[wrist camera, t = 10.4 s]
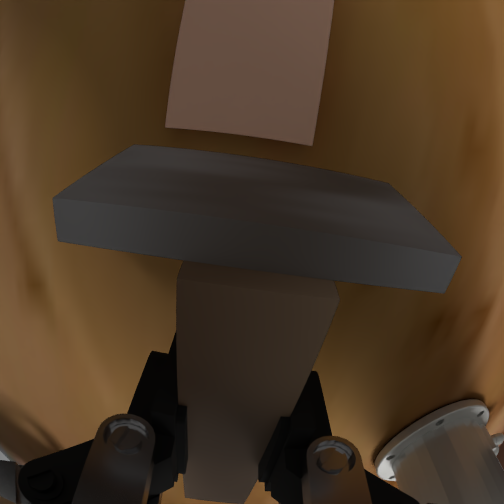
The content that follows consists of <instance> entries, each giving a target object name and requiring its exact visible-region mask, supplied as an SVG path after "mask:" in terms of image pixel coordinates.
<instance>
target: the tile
mask: <svg viewBox="0 0 504 504" xmlns="http://www.w3.org/2000/svg"><path fill="white" fill-rule="evenodd" d="M333 6H334V0H185V5H184V10H183V15H182V20H181V25H180V30H179V35H178V41H177V46H176V52H175V58H174V64H173V71H172V77H171V84H170V91H169V99H168V106H167V114H166V123H165V128H179V129H191V130H202V131H212V132H221V133H230V134H238V135H245V136H253V137H260V138H267V139H273V140H280V141H286V142H292V143H298V144H303V145H309V146H312V145H313V139H314V134H315V128H316V122H317V116H318V110H319V103H320V97H321V91H322V84H323V78H324V71H325V65H326V58H327V51H328V44H329V36H330V29H331V22H332V14H333Z"/></svg>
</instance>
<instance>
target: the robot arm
mask: <svg viewBox="0 0 504 504" xmlns="http://www.w3.org/2000/svg"><path fill="white" fill-rule="evenodd" d="M488 419H489V411H488V409H487V407H486V405H485V404H484V403H483V402H482V401H480V400H477V399H469V400H463V401H459V402H456V403H453V404H450V405H447V406H445V407H443V408H440V409H438V410H436V411H434V412H432V413H430V414H428V415H426V416H425V417H423V418H421V419H420V420H418V421H416V422H415V423H413V424H412V425H410V426H409V427H407V428H406V429H404V430H403V431H402V432H400V433H399V434H398V435H397V436H395V437H394V438H393V439H392V440H391V441H390V442H389V443H387V444H386V445H385V447H384V448H383V449H382V450H381V451H380V453H379V454H378V456H377V458H376V460H375V469H376V473H377V475H378V476H379V477H380V478H382V479H384V480H388V481H396V482H397V485H398V488H399V489H397V488H395V487H393V486H392V485H390V484H388V483H387V482H385V481H383V480H381V479H380V478H378V477H376V476H375V475H373V474H372V473H370V472H368V471H367V470H365V469H364V467H363V463H362V459H361V455H360V453H359V451H358V449H357V448H356V447H355V446H354V444H353V443H351V442H350V441H348V440H347V439H344V438H341V437H338V436H332V433H331V428H330V424H329V419H328V415H327V410H326V406H325V401H324V397H323V393H322V388H321V384H320V380H319V376H318V373H317V372H316V371H311V372H310V374H309V377H308V379H307V381H306V383H305V386H304V388H303V390H302V392H301V394H300V397H299V399H298V401H297V403H296V405H295V407H294V409H293V412H292V414H291V415H290V417H282V416H281V417H280V419H279V421H278V424H277V426H276V428H275V430H274V432H273V435H272V437H271V439H270V441H269V443H268V445H267V447H266V450H265V452H264V454H263V456H262V458H261V460H260V462H259V464H258V480H259V482H265V491H271V497H273V498H274V499H275V500H277V501H278V502H279V504H504V470H503V468H502V467H501V464H500V463H499V461H498V459H497V457H496V455H497V454H498V451H499V447H498V445H499V444H501V443H502V442H503V440H504V436H503V434H502V433H497V434H494V435H492V436H490V434H489V432H488V431H487V429H486V427H485V426H486V424H487V421H488ZM187 461H188V428H187V406H183V405H178V387H177V344H176V333H175V336H174V339H173V342H172V345H171V348H170V351H169V354H167V353H161V352H156V351H152V352H151V353H150V355H149V357H148V360H147V362H146V365H145V368H144V370H143V373H142V375H141V378H140V381H139V383H138V386H137V389H136V391H135V394H134V397H133V399H132V402H131V405H130V407H129V410H128V413H127V414H116V415H113V416H111V417H108V418H107V419H106V420H104V421H103V422H102V423H101V425H100V426H99V428H98V430H97V433H96V435H95V438H94V439H92V440H89V441H87V442H84V443H81V444H79V445H76V446H73V447H70V448H67V449H65V450H62V451H59V452H56V453H53V454H50V455H47V456H44V457H41V458H37V459H34V460H32V461H30V462H28V463H26V464H25V465H18V464H17V463H16V462H14V461H4V460H0V504H161V500H162V494H163V493H162V492H164V491H166V490H168V489H170V488H172V487H173V486H174V481H175V482H177V480H178V474H179V473H181V474H185V473H186V468H187Z"/></svg>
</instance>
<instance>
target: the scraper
mask: <svg viewBox="0 0 504 504" xmlns="http://www.w3.org/2000/svg"><path fill="white" fill-rule="evenodd" d="M53 207H54V216H55V224H56V231H57V238H58V241H60V242H66V243H73V244H79V245H85V246H92V247H98V248H104V249H111V250H117V251H124V252H131V253H137V254H144V255H151V256H157V257H164V258H171V259H178V260H184V261H183V263H182V266H181V269H180V271H179V274H178V277H177V302H176V344H177V387H178V405H183V406H187V428H188V461H187V468H186V473H185V474H183V481H184V491H185V498H192V499H199V500H207V501H215V502H225V503H238V504H244V502H245V501H246V499H247V497H248V496H249V494H250V492H251V490H252V489H253V487H254V485H255V483H256V481H257V480H258V464H259V462H260V460H261V458H262V456H263V454H264V452H265V450H266V447H267V445H268V443H269V441H270V439H271V437H272V435H273V432H274V430H275V428H276V426H277V424H278V421H279V419H280V417H281V416H282V417H290V415H291V414H292V412H293V409H294V407H295V405H296V403H297V401H298V399H299V397H300V394H301V392H302V390H303V388H304V386H305V383H306V381H307V379H308V377H309V374H310V372H311V370H312V368H313V365H314V363H315V361H316V358H317V356H318V354H319V351H320V349H321V346H322V344H323V342H324V339H325V337H326V334H327V332H328V329H329V327H330V324H331V322H332V319H333V317H334V314H335V311H336V309H337V306H338V304H339V301H340V298H339V295H338V292H337V289H336V285H335V282H334V281H342V282H350V283H359V284H367V285H375V286H384V287H392V288H401V289H409V290H418V291H427V292H436V293H445V291H446V289H447V287H448V285H449V283H450V281H451V279H452V277H453V275H454V273H455V271H456V269H457V266H458V264H459V262H460V260H461V258H462V257H461V255H460V254H459V253H458V252H457V251H456V250H455V249H454V248H453V247H452V246H451V244H450V243H449V242H448V241H447V240H446V239H445V238H444V237H443V236H442V235H441V234H440V233H439V232H438V231H437V230H436V229H435V228H434V227H433V226H432V225H431V224H430V223H429V222H428V221H427V220H426V219H425V218H424V217H423V216H422V215H421V214H420V213H419V212H418V211H417V210H416V209H415V208H414V207H413V206H412V205H411V204H410V203H409V202H408V201H407V200H406V199H405V198H404V197H403V196H402V195H401V194H400V193H399V192H397V191H396V190H395V189H394V188H393V187H392V186H391V185H390V184H389V183H385V182H381V181H377V180H372V179H368V178H363V177H359V176H354V175H350V174H345V173H340V172H335V171H330V170H325V169H320V168H315V167H309V166H304V165H298V164H293V163H287V162H281V161H275V160H268V159H262V158H255V157H248V156H241V155H234V154H226V153H218V152H210V151H202V150H192V149H183V148H172V147H161V146H148V145H132V146H131V147H129V148H127V149H126V150H124V151H122V152H121V153H119V154H117V155H116V156H114V157H112V158H111V159H109V160H108V161H106V162H105V163H103V164H101V165H100V166H98V167H97V168H95V169H94V170H92V171H91V172H89V173H88V174H86V175H85V176H83V177H82V178H80V179H79V180H77V181H76V182H74V183H73V184H71V185H70V186H69V187H67V188H66V189H64V190H63V191H61V192H60V193H59V194H57V195H56V196H55V197H53Z"/></svg>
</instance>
